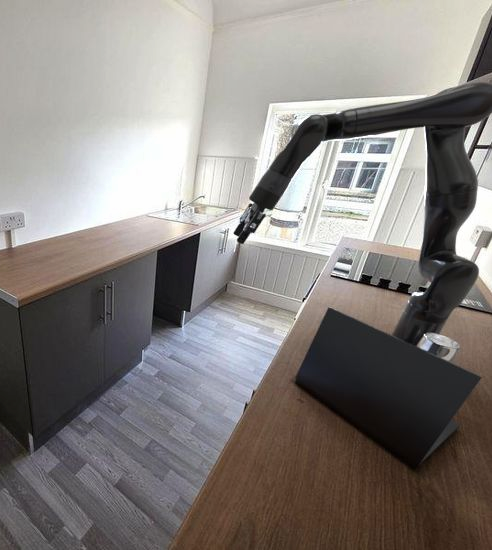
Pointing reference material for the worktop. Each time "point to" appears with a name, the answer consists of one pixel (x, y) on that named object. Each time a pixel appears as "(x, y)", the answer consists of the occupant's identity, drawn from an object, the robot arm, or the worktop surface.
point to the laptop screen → (385, 382)
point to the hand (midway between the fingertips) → (237, 238)
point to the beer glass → (439, 345)
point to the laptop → (443, 437)
